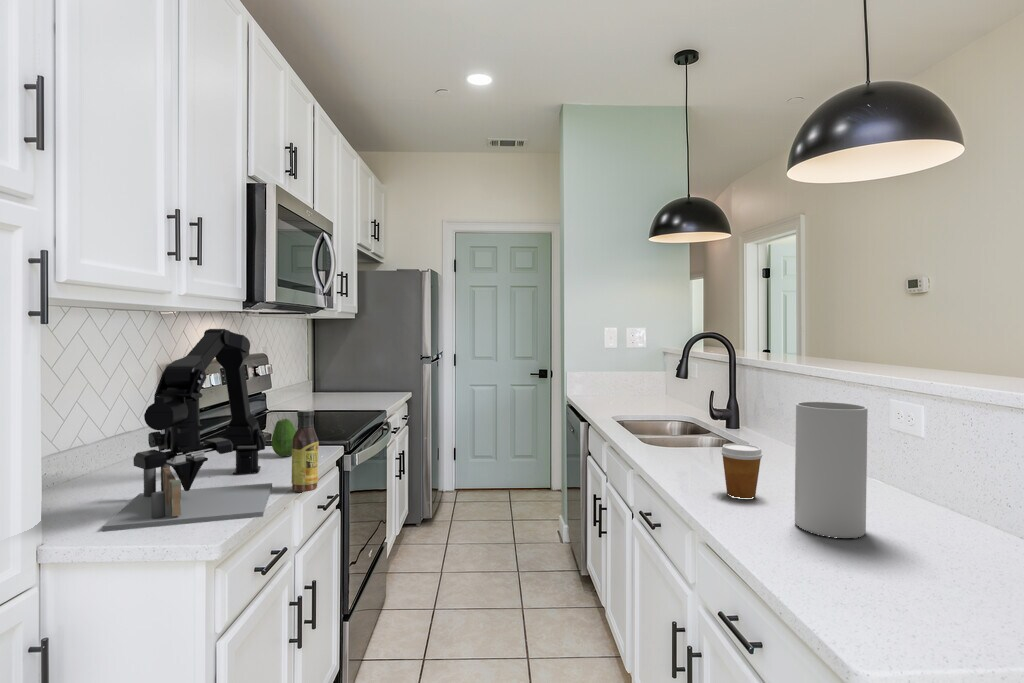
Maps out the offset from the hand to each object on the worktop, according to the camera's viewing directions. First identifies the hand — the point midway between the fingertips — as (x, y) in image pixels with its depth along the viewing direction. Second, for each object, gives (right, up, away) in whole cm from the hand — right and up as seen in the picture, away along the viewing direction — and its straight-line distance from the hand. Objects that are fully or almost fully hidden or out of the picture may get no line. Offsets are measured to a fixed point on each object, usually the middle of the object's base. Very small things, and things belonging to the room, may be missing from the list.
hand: (186, 490), depth 125 cm
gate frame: (+1, -4, +2) cm, 5 cm away
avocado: (+1, -3, +53) cm, 53 cm away
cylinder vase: (+136, -5, -11) cm, 137 cm away
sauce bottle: (+21, -4, +16) cm, 26 cm away
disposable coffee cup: (+128, -5, +11) cm, 128 cm away
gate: (-3, -3, 0) cm, 4 cm away
